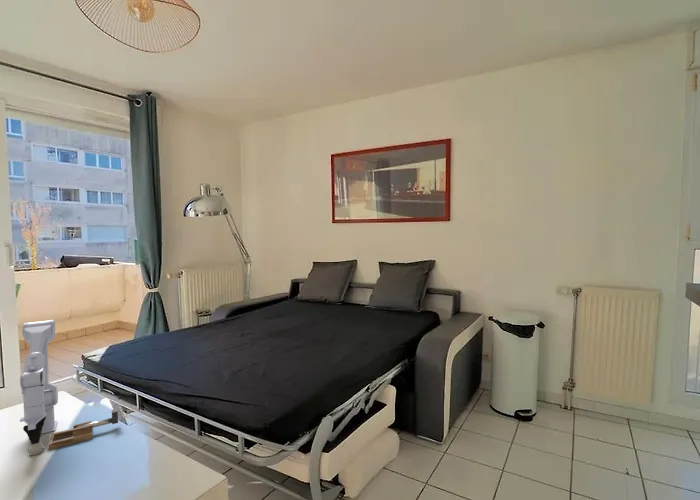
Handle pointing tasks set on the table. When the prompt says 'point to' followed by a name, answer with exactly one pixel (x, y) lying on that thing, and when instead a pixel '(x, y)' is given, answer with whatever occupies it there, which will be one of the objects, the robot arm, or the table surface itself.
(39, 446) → the rook chess piece
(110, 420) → the grey metal hammer
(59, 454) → the table surface
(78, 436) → the wooden frame
